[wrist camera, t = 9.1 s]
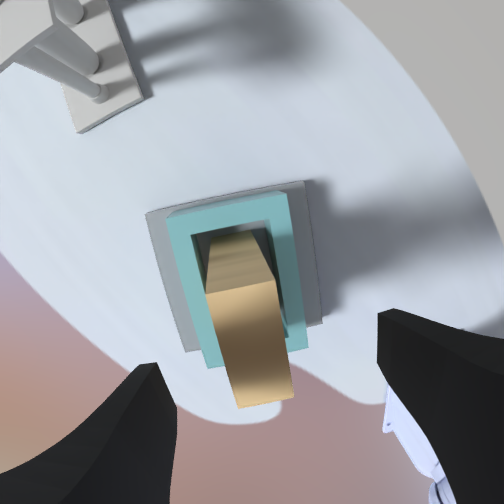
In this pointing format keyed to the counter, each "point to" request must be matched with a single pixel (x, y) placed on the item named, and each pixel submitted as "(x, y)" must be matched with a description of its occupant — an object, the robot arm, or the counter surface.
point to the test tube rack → (72, 54)
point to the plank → (247, 320)
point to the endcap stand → (270, 243)
